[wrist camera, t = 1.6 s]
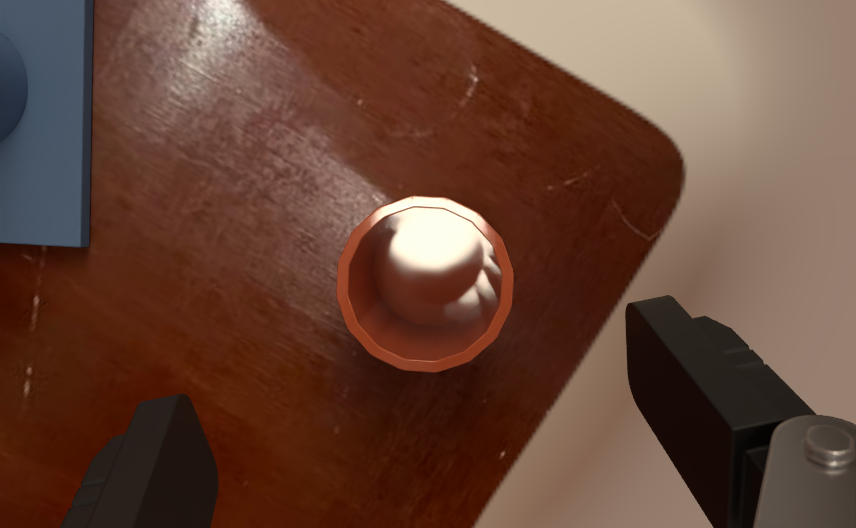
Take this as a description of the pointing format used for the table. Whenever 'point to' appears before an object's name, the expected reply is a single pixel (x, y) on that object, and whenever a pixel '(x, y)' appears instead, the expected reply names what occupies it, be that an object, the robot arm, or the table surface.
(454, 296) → the red cup
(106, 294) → the table surface
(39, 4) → the board
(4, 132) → the blue cylinder
